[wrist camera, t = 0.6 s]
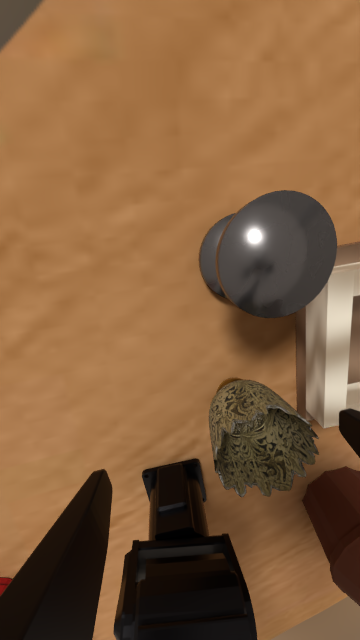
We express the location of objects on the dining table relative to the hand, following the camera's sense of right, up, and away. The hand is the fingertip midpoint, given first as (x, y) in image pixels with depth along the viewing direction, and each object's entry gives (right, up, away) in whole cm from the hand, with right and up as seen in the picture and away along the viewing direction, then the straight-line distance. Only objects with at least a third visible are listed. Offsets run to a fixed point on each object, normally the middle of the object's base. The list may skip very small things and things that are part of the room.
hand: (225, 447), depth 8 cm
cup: (+4, -3, +14) cm, 15 cm away
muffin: (+19, -18, +21) cm, 33 cm away
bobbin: (+3, +10, +11) cm, 15 cm away
